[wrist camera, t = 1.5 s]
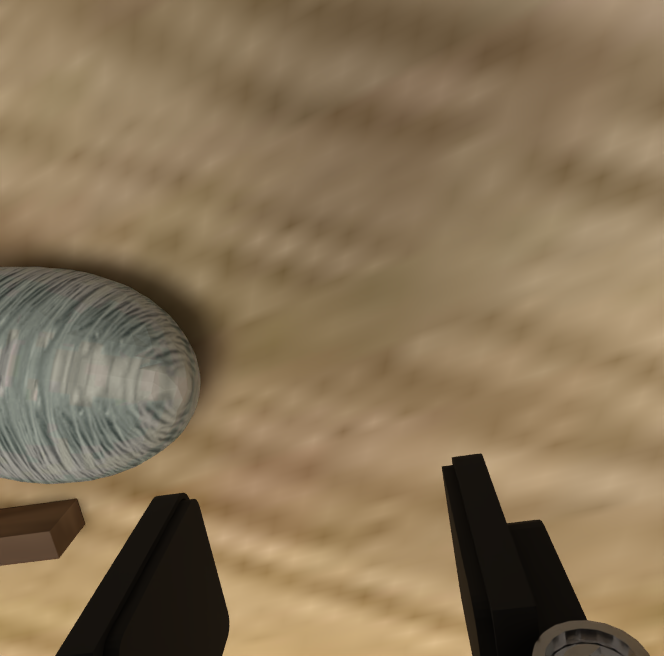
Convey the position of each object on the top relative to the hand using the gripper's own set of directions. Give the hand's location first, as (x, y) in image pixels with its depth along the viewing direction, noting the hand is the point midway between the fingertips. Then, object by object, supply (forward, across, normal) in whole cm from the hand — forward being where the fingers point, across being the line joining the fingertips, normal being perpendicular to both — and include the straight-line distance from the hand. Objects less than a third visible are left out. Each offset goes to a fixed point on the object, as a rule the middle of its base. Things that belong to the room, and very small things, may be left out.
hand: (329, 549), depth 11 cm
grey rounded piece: (+20, +14, 0) cm, 24 cm away
